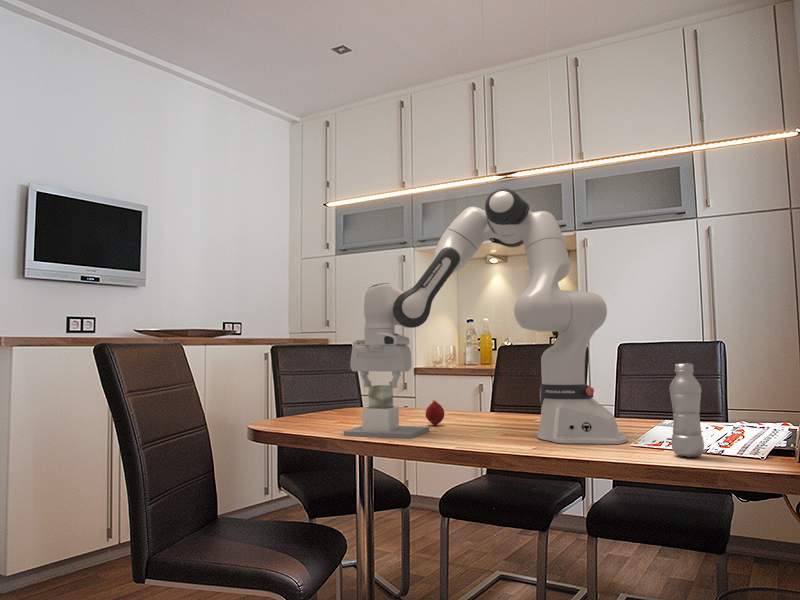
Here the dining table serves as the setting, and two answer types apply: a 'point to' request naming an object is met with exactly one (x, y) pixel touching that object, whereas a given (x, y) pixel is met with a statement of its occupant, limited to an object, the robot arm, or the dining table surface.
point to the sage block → (380, 396)
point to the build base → (389, 434)
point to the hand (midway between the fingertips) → (380, 387)
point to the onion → (435, 413)
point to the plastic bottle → (686, 412)
